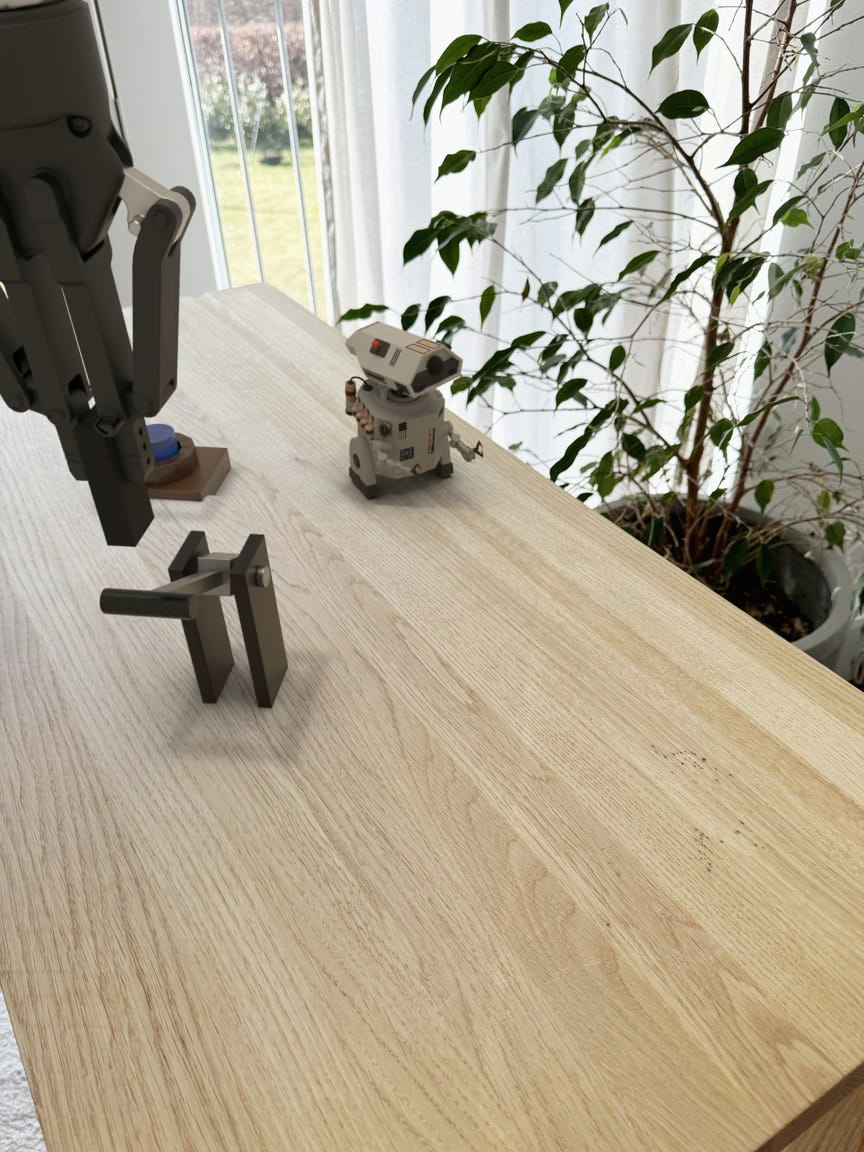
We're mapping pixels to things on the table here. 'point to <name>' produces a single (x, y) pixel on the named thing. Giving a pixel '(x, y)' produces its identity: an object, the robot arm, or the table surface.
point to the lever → (174, 592)
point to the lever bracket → (254, 614)
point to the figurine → (400, 406)
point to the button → (162, 441)
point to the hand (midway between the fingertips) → (131, 531)
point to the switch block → (189, 472)
